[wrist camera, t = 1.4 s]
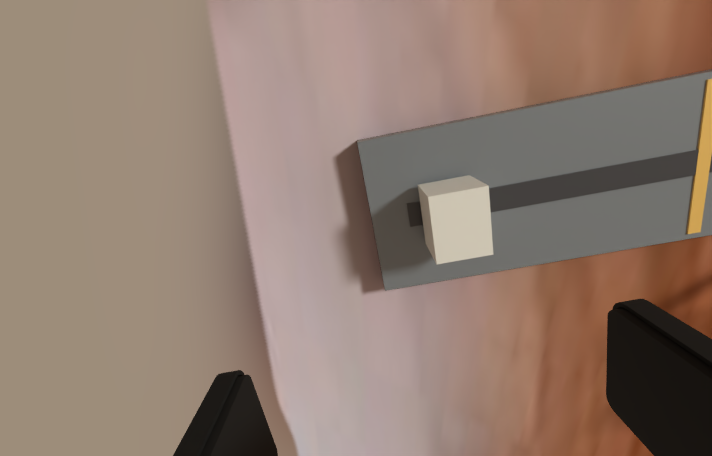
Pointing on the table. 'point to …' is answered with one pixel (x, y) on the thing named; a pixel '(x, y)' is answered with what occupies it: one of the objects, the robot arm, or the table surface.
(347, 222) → the table surface
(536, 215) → the board
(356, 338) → the table surface
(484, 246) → the fader tab
